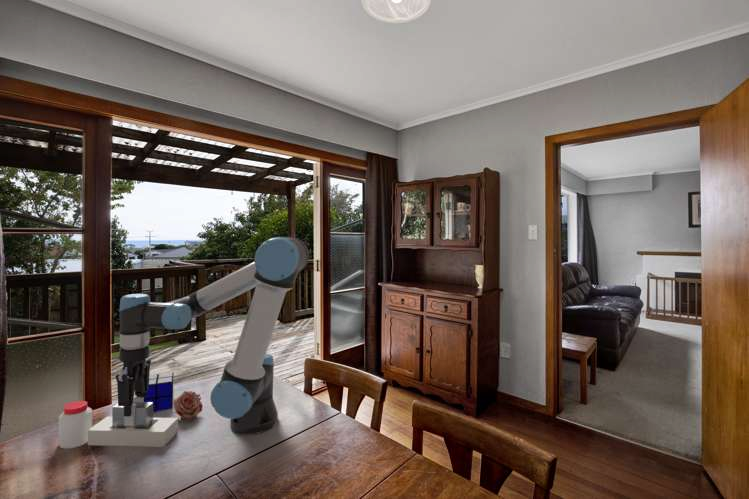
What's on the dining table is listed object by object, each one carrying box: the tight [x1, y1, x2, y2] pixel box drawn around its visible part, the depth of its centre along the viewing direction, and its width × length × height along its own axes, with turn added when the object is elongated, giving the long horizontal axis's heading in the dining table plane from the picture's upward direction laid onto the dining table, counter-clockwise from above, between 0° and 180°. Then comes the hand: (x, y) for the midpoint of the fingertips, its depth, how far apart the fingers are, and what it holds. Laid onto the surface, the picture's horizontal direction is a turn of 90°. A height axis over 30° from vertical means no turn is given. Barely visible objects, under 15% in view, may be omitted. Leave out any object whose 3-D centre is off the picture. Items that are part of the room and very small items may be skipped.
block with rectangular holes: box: [87, 416, 179, 448], centre depth 112 cm, size 22×8×4 cm, turn 91°
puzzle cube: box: [144, 371, 174, 413], centre depth 132 cm, size 10×10×10 cm
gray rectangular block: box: [111, 402, 154, 429], centre depth 112 cm, size 10×4×10 cm, turn 91°
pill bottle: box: [58, 400, 93, 449], centre depth 109 cm, size 8×8×11 cm
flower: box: [170, 390, 203, 421], centre depth 125 cm, size 10×9×8 cm
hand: (133, 421), depth 112 cm, fingers closed on gray rectangular block, 3 cm apart
